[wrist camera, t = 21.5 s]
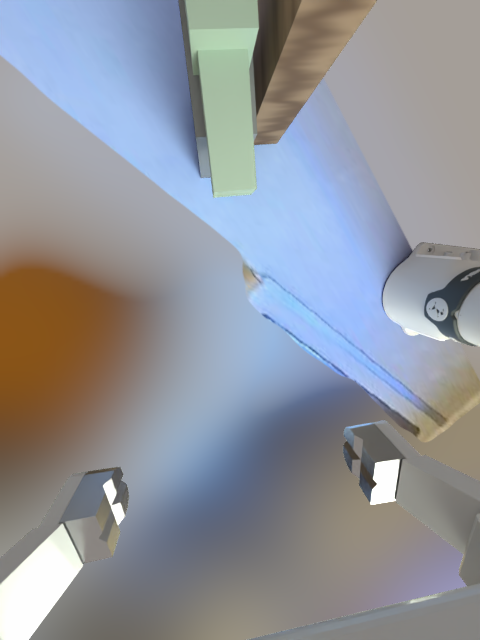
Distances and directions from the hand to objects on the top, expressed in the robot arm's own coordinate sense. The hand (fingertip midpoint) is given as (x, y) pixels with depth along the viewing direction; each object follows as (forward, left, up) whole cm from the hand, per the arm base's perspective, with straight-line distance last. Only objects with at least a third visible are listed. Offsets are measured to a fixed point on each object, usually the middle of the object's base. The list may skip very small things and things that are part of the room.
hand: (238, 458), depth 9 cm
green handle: (-3, -20, -21) cm, 29 cm away
